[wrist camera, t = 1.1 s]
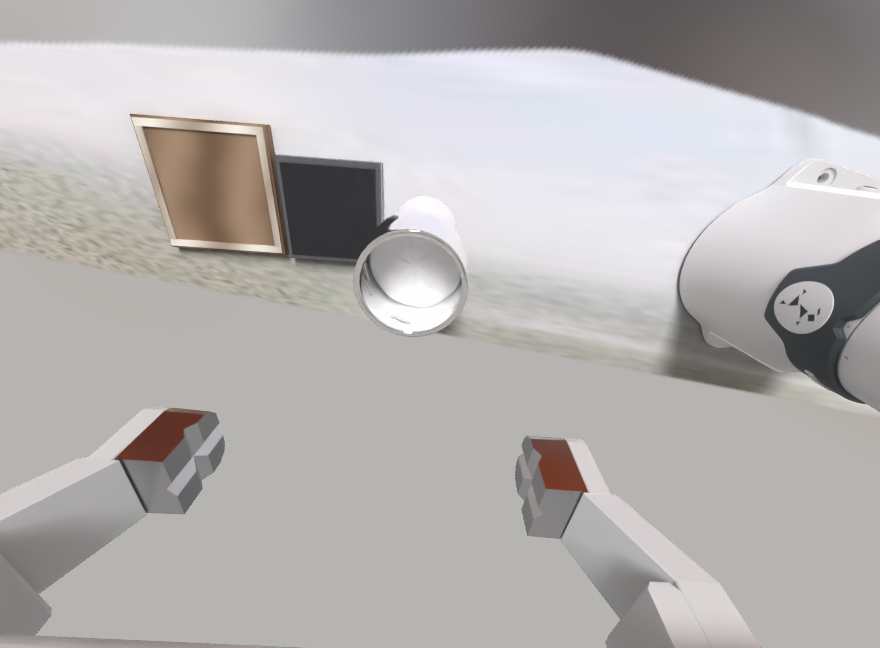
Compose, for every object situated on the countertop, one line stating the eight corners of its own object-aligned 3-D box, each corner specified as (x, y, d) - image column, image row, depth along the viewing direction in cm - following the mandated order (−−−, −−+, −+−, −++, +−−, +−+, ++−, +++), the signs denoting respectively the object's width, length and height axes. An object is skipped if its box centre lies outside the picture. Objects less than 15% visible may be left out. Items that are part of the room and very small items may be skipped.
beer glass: (410, 274, 34) (389, 356, 21) (374, 211, 31) (324, 260, 18) (472, 245, 33) (490, 312, 20) (441, 176, 30) (437, 201, 17)
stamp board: (269, 125, 28) (264, 124, 27) (288, 252, 33) (284, 255, 33) (137, 114, 28) (127, 113, 27) (177, 244, 33) (170, 247, 32)
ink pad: (382, 162, 29) (379, 163, 28) (383, 261, 34) (381, 265, 32) (279, 154, 29) (272, 155, 28) (294, 254, 34) (287, 259, 32)
